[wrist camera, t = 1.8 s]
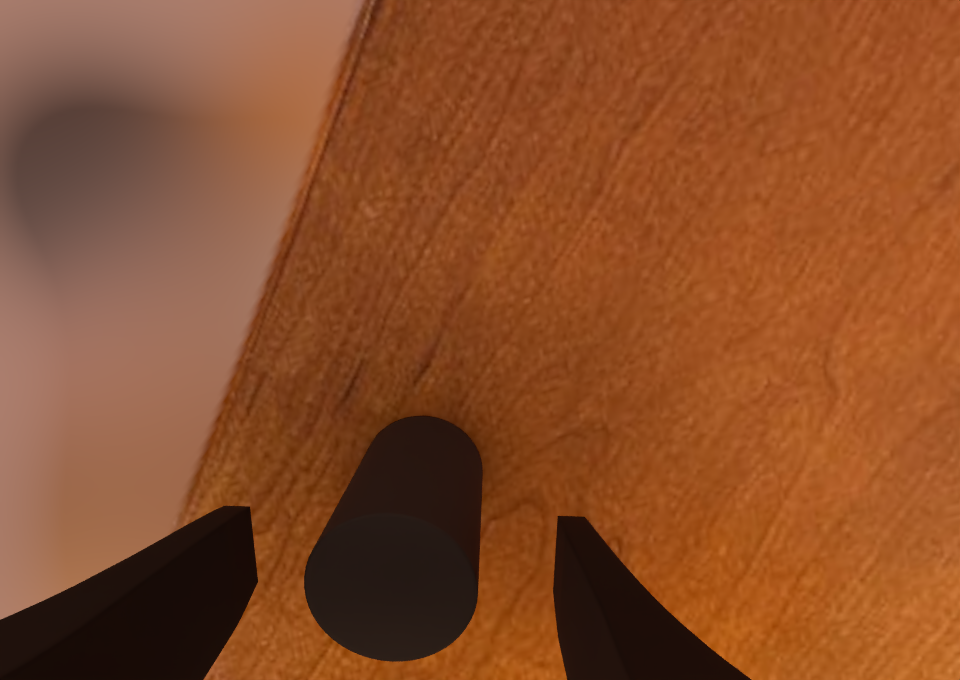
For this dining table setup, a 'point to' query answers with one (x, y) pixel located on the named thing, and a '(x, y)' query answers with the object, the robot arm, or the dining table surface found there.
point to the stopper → (402, 545)
